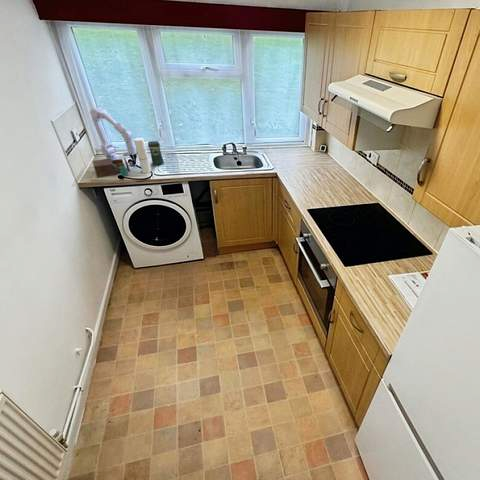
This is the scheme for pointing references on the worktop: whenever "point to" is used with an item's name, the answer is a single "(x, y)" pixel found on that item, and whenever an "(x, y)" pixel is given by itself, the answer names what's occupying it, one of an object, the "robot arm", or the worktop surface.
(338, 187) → the worktop surface
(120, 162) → the drawer
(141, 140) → the cylindrical container
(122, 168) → the scoop
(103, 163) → the cabinet
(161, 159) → the coffee jar
